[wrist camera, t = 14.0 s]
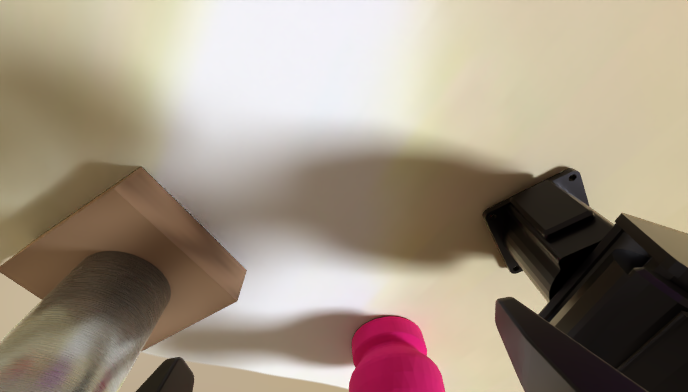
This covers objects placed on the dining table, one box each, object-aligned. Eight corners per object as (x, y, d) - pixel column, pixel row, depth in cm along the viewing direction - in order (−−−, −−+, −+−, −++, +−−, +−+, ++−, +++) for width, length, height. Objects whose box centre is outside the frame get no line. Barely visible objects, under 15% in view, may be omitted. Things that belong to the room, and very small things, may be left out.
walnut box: (246, 270, 25) (237, 300, 22) (149, 323, 27) (129, 357, 24) (141, 166, 20) (113, 188, 18) (34, 239, 22) (-4, 269, 20)
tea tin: (185, 277, 21) (21, 572, 10) (151, 328, 23) (-17, 621, 12) (91, 235, 19) (-238, 537, 8) (64, 295, 21) (-228, 601, 10)
